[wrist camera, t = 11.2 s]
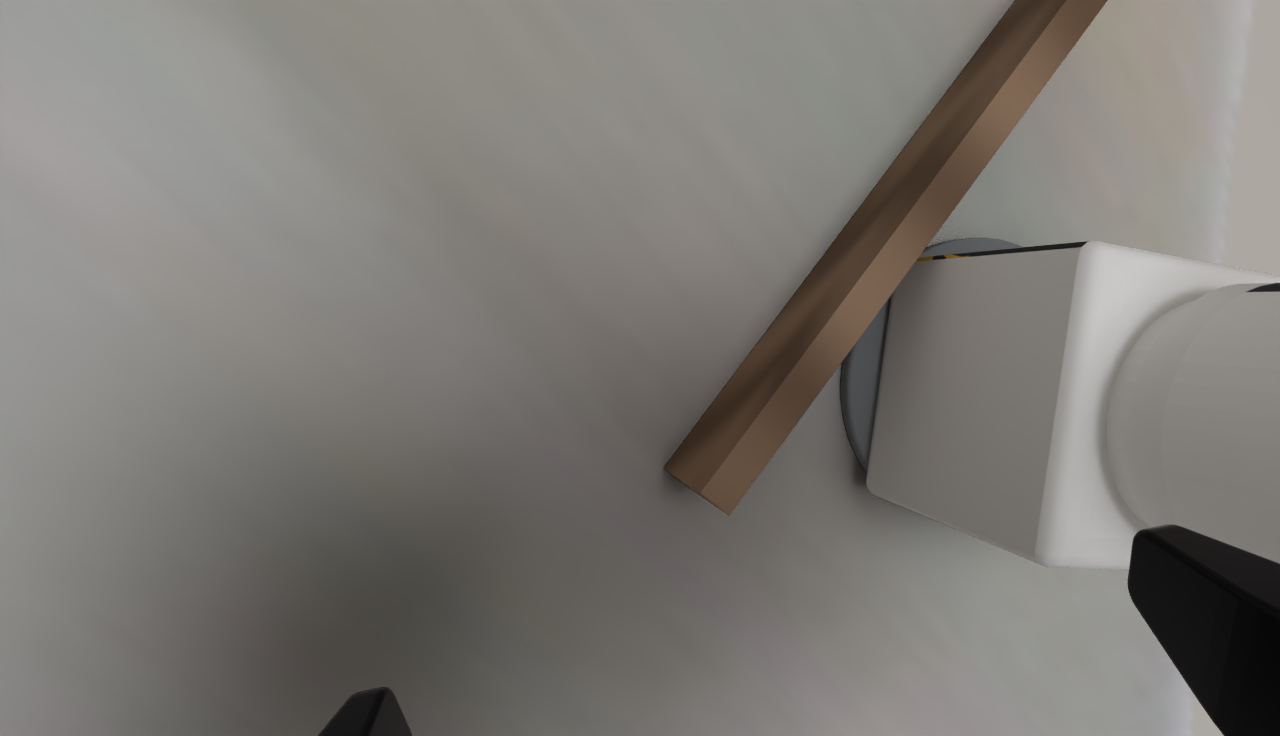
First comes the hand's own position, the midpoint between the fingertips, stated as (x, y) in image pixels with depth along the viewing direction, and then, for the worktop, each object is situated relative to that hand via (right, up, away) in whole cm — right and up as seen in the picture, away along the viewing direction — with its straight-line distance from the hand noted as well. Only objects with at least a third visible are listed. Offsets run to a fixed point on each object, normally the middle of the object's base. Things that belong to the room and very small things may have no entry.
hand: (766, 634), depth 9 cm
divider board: (+6, +8, +14) cm, 17 cm away
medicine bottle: (+9, +3, +15) cm, 18 cm away
